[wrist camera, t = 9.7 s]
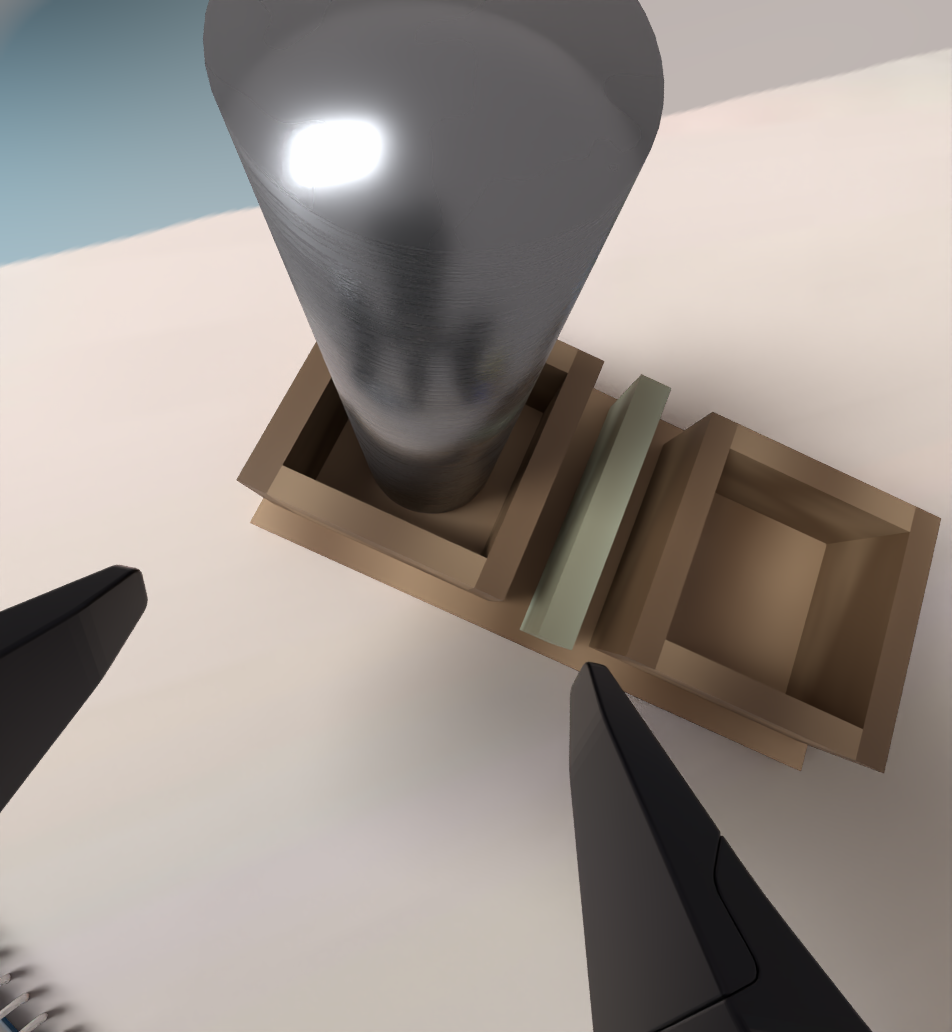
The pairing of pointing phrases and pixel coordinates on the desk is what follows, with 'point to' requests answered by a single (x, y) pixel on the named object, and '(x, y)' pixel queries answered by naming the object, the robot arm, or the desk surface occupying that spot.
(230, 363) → the desk surface
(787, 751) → the wooden compartment tray
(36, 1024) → the sketchbook
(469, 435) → the brushed steel cylinder
